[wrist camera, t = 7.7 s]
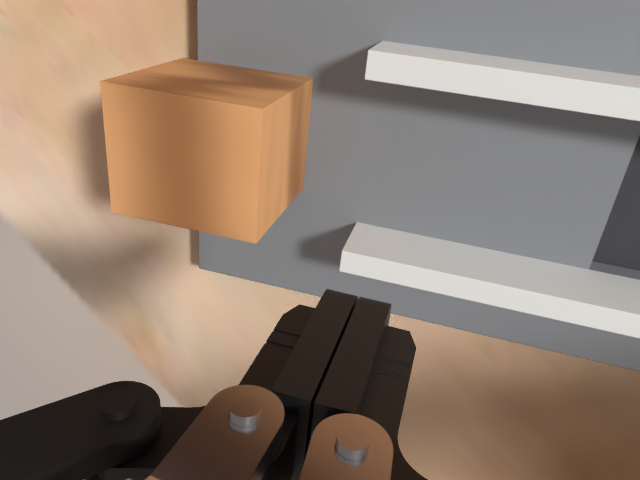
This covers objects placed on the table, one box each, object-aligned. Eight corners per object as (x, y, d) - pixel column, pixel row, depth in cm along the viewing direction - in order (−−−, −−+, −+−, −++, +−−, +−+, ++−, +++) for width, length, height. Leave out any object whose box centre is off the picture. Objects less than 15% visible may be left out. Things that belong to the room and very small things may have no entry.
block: (313, 78, 23) (262, 109, 18) (303, 188, 25) (256, 243, 20) (183, 57, 24) (99, 81, 19) (185, 164, 26) (111, 211, 21)
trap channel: (847, -13, 18) (938, -10, 14) (661, 362, 26) (690, 426, 22) (209, -78, 23) (157, -87, 19) (209, 258, 30) (170, 297, 26)
